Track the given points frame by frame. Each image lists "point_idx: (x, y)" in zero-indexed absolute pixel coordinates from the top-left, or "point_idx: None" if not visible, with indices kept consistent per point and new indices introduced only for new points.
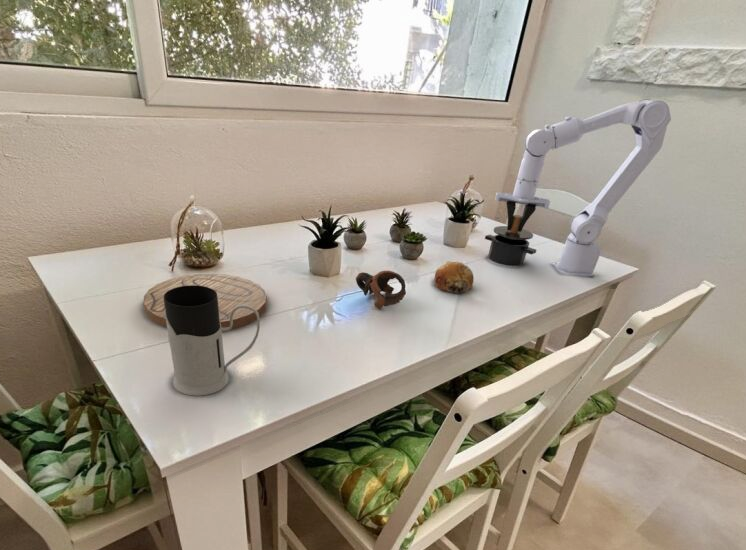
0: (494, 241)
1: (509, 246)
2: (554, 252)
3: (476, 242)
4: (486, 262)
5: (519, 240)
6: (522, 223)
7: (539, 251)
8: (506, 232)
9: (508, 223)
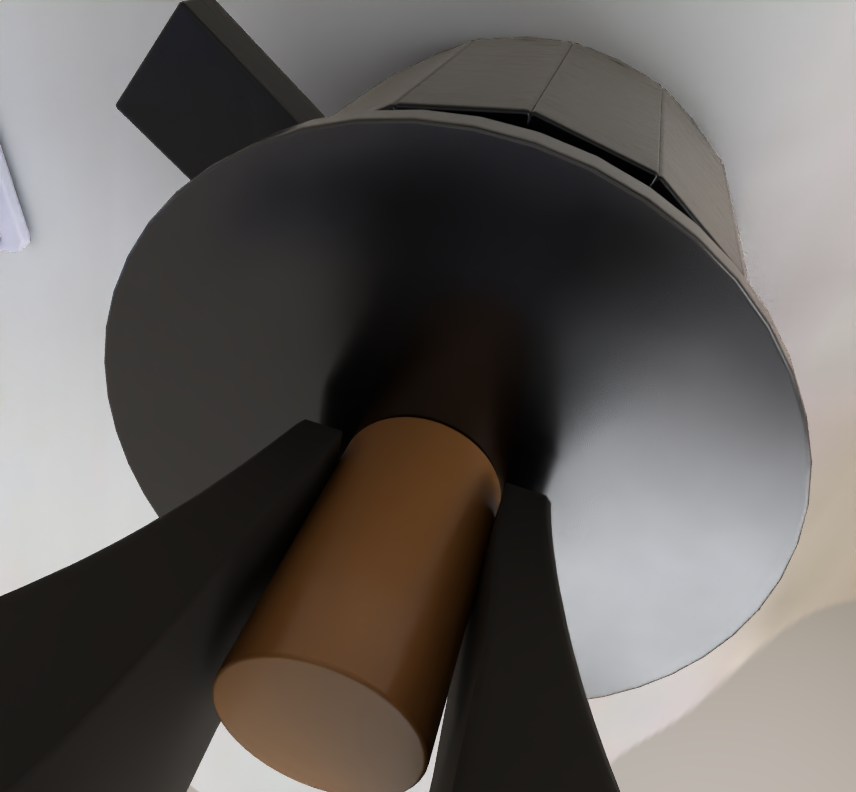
0: None
1: (568, 121)
2: (32, 521)
3: (644, 700)
4: (802, 179)
5: None
6: (245, 509)
7: None
8: (580, 434)
9: (555, 583)
